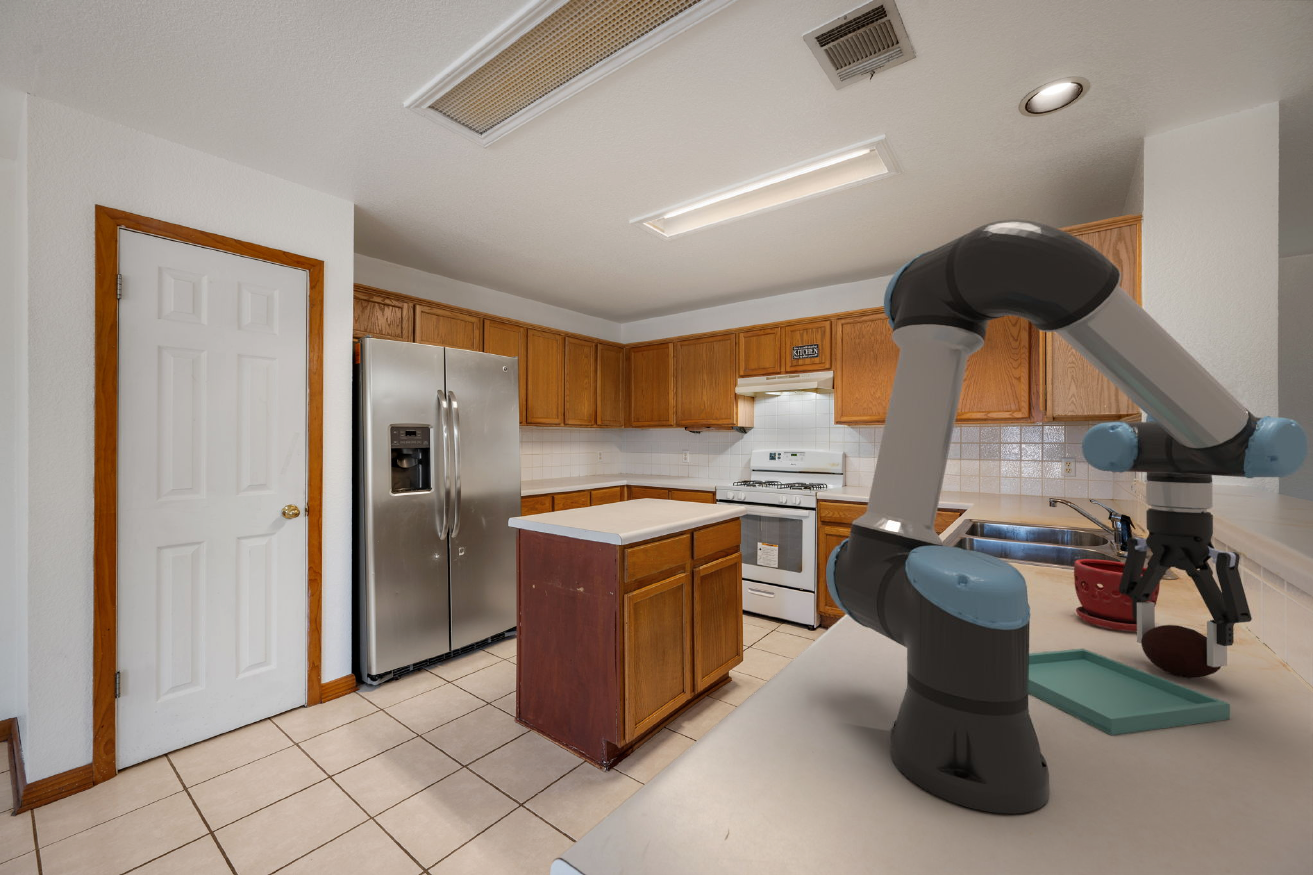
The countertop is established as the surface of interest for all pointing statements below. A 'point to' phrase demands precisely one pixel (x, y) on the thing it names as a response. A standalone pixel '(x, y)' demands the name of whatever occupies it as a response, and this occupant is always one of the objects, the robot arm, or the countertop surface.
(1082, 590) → the plant pot
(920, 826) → the countertop surface
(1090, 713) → the teal tray
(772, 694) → the countertop surface
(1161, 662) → the dark brown oval
